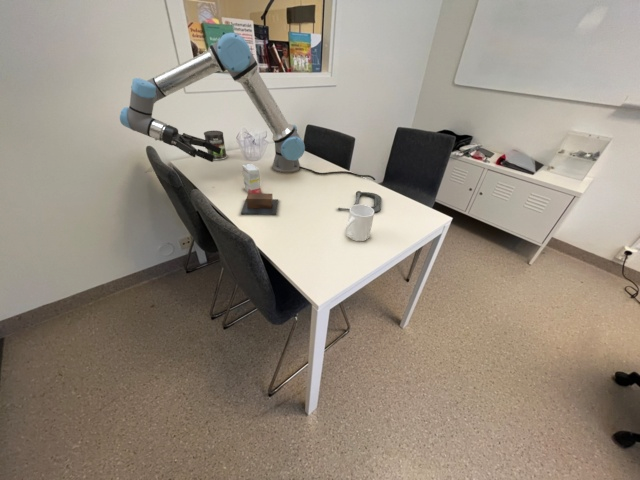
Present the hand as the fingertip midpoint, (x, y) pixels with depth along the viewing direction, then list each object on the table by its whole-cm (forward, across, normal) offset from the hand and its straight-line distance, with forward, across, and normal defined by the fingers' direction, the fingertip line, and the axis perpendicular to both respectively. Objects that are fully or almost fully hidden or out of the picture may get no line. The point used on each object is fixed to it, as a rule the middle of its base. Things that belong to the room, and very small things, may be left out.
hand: (217, 154), depth 115 cm
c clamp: (+66, +14, +10) cm, 68 cm away
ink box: (+20, +2, -9) cm, 22 cm away
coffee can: (-5, -43, -16) cm, 46 cm away
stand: (+24, +18, -8) cm, 31 cm away
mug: (+58, +40, +4) cm, 71 cm away
